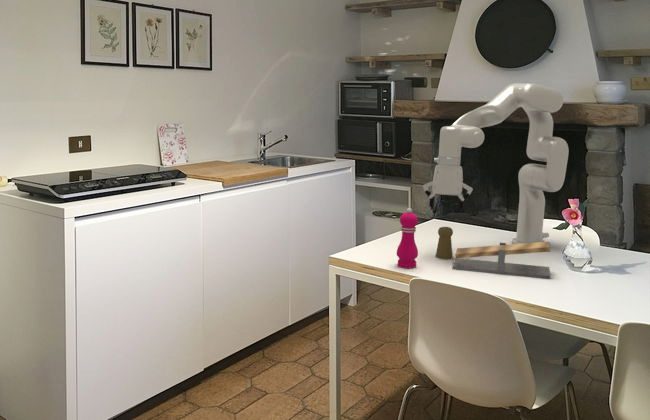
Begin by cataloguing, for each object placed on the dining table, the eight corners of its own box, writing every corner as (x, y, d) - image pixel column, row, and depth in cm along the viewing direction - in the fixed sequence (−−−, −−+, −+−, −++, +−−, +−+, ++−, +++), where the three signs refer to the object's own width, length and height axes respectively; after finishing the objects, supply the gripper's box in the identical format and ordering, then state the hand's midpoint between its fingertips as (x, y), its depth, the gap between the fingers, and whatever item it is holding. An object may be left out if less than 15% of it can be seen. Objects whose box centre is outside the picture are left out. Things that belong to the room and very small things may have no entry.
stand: (452, 269, 207) (453, 245, 205) (455, 260, 217) (456, 238, 216) (550, 278, 198) (552, 254, 196) (548, 269, 208) (550, 246, 207)
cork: (452, 259, 218) (454, 229, 216) (435, 258, 219) (436, 228, 217) (452, 255, 224) (454, 226, 222) (435, 254, 225) (437, 225, 223)
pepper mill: (402, 261, 215) (404, 205, 211) (421, 265, 211) (423, 207, 207) (392, 266, 209) (394, 208, 205) (411, 270, 205) (414, 211, 201)
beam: (455, 260, 208) (454, 254, 207) (458, 254, 215) (457, 248, 215) (550, 253, 198) (549, 247, 198) (549, 247, 206) (548, 241, 205)
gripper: (422, 161, 214) (420, 210, 217) (473, 164, 209) (470, 214, 212) (425, 159, 221) (423, 206, 224) (475, 162, 216) (471, 210, 219)
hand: (446, 210), depth 218 cm, fingers open, 9 cm apart
